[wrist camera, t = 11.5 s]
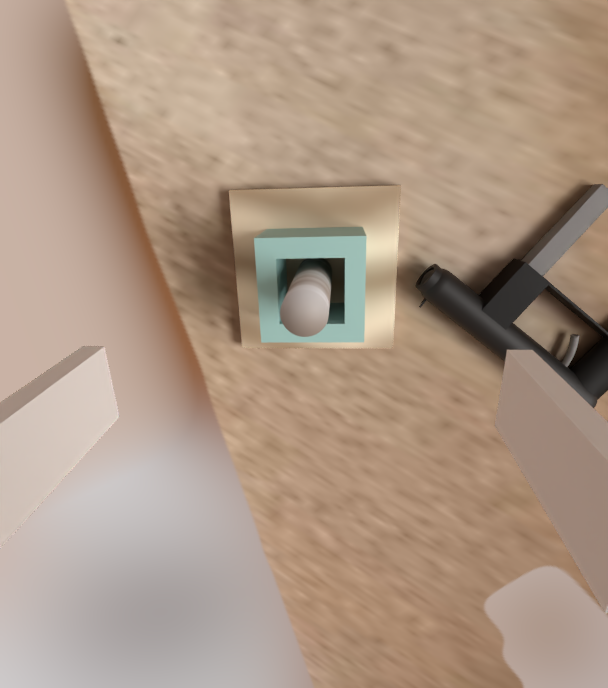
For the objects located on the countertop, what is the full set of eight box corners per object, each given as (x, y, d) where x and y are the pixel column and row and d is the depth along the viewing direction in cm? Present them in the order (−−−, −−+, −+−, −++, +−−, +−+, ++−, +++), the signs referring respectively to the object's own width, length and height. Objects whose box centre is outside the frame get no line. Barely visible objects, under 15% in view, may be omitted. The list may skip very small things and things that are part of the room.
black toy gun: (553, 132, 32) (408, 303, 36) (729, 295, 35) (576, 434, 39) (532, 138, 35) (401, 295, 39) (695, 287, 38) (557, 417, 42)
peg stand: (232, 189, 37) (177, 196, 25) (399, 185, 36) (429, 189, 23) (244, 343, 42) (205, 412, 30) (391, 343, 41) (413, 415, 28)
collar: (267, 228, 37) (253, 238, 31) (362, 226, 36) (366, 235, 30) (272, 319, 40) (261, 342, 34) (360, 318, 39) (364, 342, 33)
